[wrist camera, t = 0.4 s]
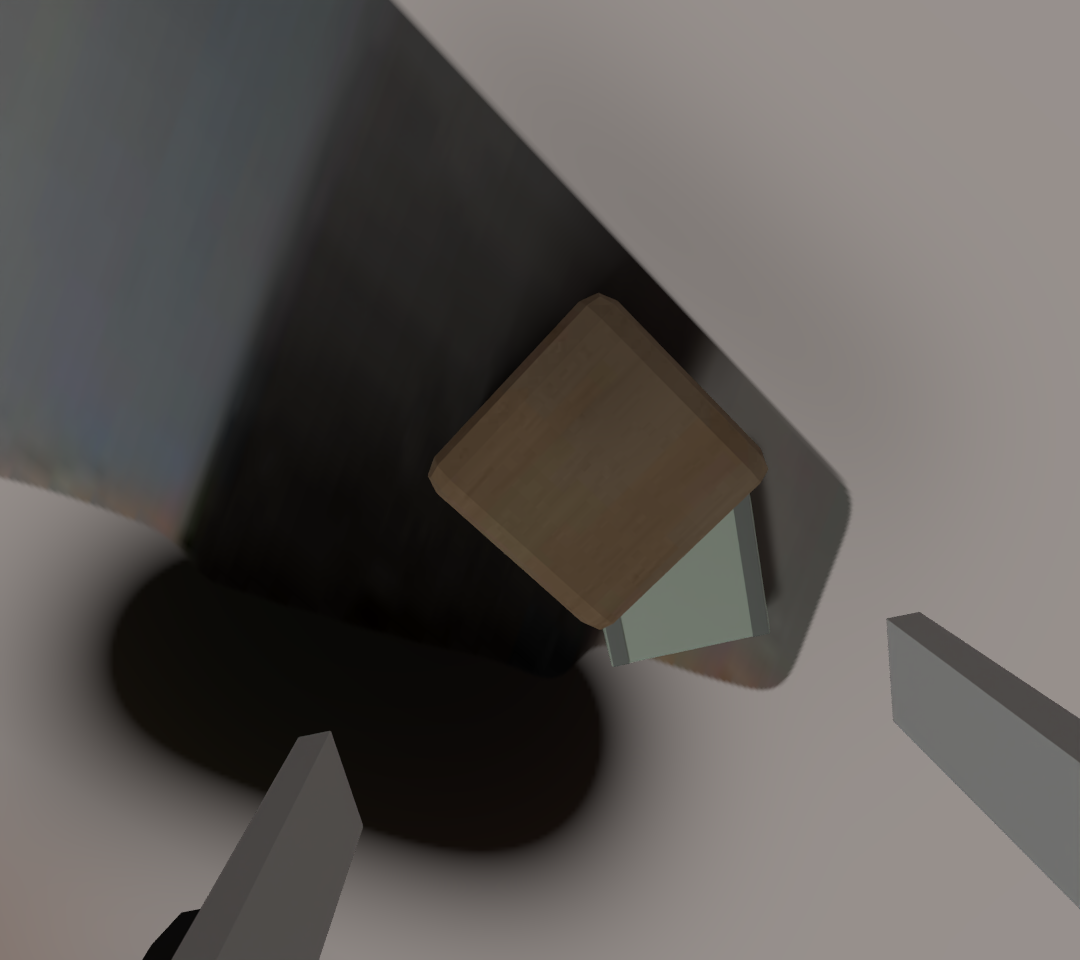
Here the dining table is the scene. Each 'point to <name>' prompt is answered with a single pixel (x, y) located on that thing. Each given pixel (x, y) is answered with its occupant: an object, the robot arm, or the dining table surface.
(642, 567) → the wooden block
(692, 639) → the dock
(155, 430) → the dining table surface
